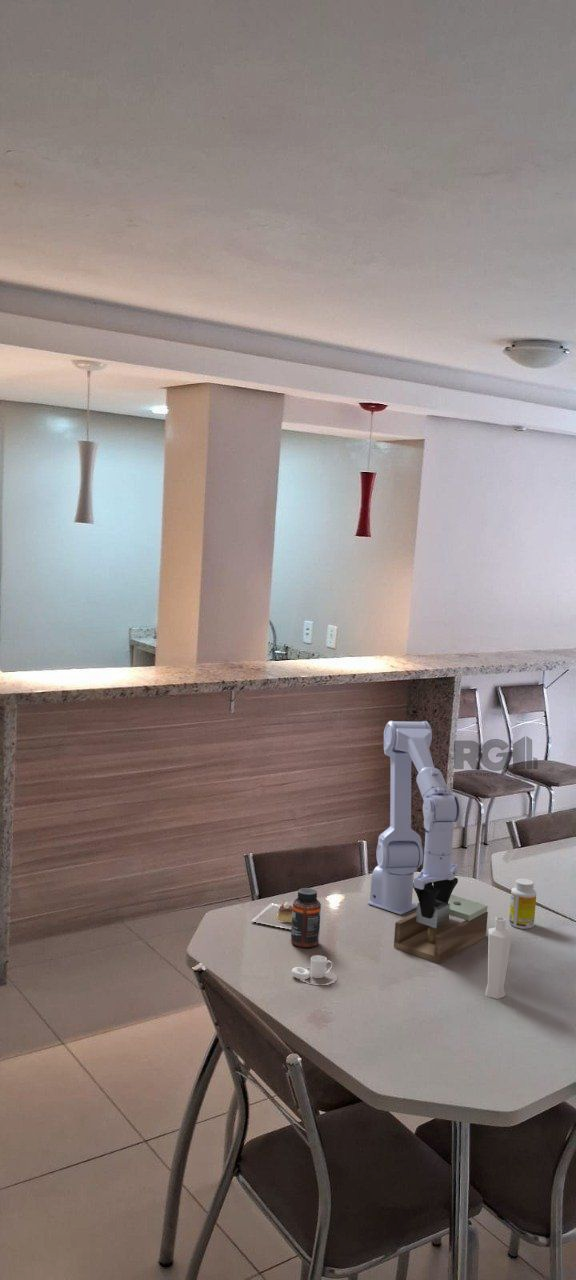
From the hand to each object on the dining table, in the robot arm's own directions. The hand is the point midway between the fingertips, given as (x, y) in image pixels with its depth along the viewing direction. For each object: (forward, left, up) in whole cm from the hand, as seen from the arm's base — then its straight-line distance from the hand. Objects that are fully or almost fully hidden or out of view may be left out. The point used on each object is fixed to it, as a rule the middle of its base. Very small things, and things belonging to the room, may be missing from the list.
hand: (433, 913), depth 211 cm
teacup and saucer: (-11, -28, -8) cm, 31 cm away
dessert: (-31, -11, -8) cm, 34 cm away
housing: (0, +4, -7) cm, 8 cm away
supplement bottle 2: (+8, +26, -8) cm, 28 cm away
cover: (0, +10, -2) cm, 10 cm away
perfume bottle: (+20, -10, -8) cm, 24 cm away
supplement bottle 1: (-20, -18, -8) cm, 28 cm away
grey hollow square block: (0, 0, -2) cm, 2 cm away
